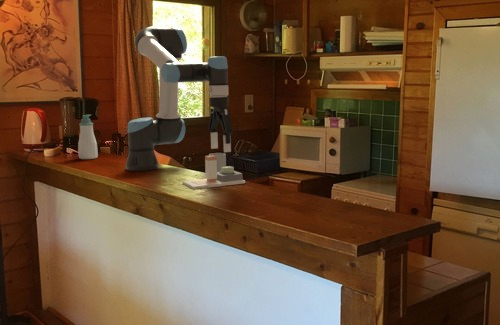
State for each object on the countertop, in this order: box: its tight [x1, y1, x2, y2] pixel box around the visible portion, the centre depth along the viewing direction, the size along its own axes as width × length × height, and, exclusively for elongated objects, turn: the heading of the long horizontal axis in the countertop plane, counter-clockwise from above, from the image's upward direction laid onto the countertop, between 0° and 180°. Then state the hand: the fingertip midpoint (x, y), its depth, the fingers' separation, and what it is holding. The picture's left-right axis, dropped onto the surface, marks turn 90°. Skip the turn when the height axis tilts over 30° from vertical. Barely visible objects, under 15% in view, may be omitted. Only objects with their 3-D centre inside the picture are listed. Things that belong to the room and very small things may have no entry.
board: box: [182, 170, 246, 190], centre depth 225 cm, size 12×22×4 cm, turn 116°
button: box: [221, 165, 235, 175], centre depth 228 cm, size 5×5×3 cm
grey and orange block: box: [204, 155, 217, 182], centre depth 224 cm, size 4×4×10 cm
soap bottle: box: [77, 114, 99, 160], centre depth 298 cm, size 10×10×23 cm
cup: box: [208, 152, 227, 172], centre depth 245 cm, size 7×10×9 cm
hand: (220, 150), depth 225 cm, fingers open, 13 cm apart
